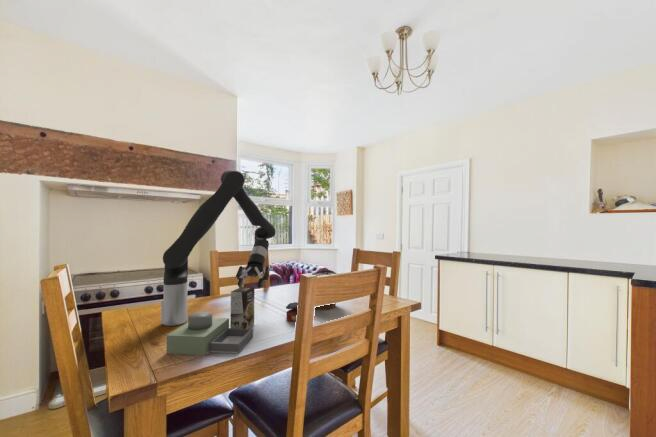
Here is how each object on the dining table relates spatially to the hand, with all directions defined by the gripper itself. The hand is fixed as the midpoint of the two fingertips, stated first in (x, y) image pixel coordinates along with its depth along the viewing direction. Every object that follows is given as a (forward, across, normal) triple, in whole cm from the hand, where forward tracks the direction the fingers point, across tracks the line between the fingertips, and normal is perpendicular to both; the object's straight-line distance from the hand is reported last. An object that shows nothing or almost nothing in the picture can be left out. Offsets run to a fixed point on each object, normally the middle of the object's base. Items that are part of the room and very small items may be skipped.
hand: (249, 287), depth 125 cm
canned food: (+6, +20, +16) cm, 26 cm away
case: (-7, +30, +28) cm, 42 cm away
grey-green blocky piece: (+26, -5, -5) cm, 27 cm away
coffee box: (+16, 0, +6) cm, 17 cm away
